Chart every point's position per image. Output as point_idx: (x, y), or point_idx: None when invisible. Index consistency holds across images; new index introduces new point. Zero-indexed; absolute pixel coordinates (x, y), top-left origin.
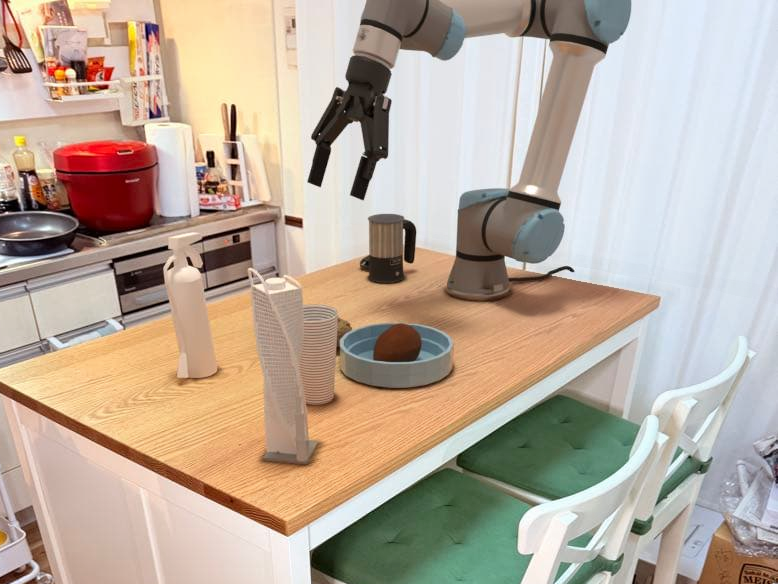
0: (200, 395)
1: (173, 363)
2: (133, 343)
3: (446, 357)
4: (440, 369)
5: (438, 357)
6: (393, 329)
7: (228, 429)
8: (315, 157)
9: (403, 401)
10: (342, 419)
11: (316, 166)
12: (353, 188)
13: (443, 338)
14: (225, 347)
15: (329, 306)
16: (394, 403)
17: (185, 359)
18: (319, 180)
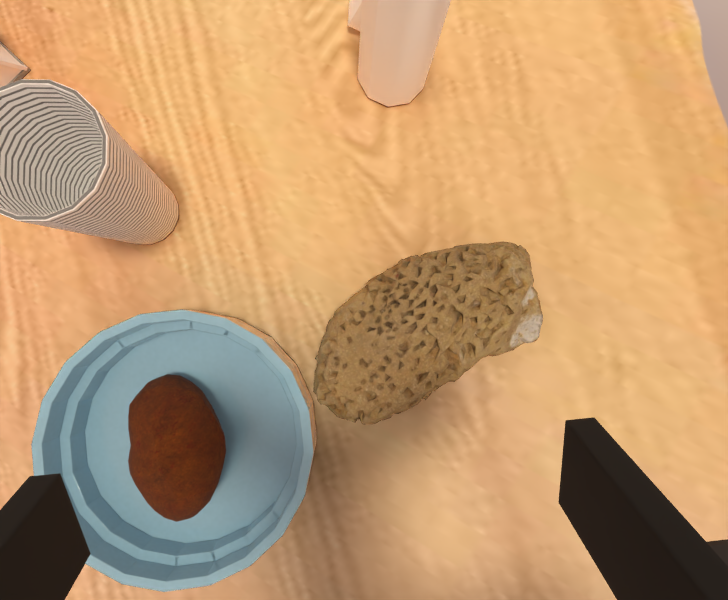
0: (283, 31)
1: (463, 45)
2: (615, 14)
3: None
4: None
5: None
6: (153, 444)
7: (117, 17)
8: (703, 570)
9: (37, 350)
10: None
11: (632, 531)
12: (11, 512)
13: (152, 573)
14: (492, 170)
15: (52, 215)
16: (39, 330)
17: (359, 5)
18: (578, 511)
